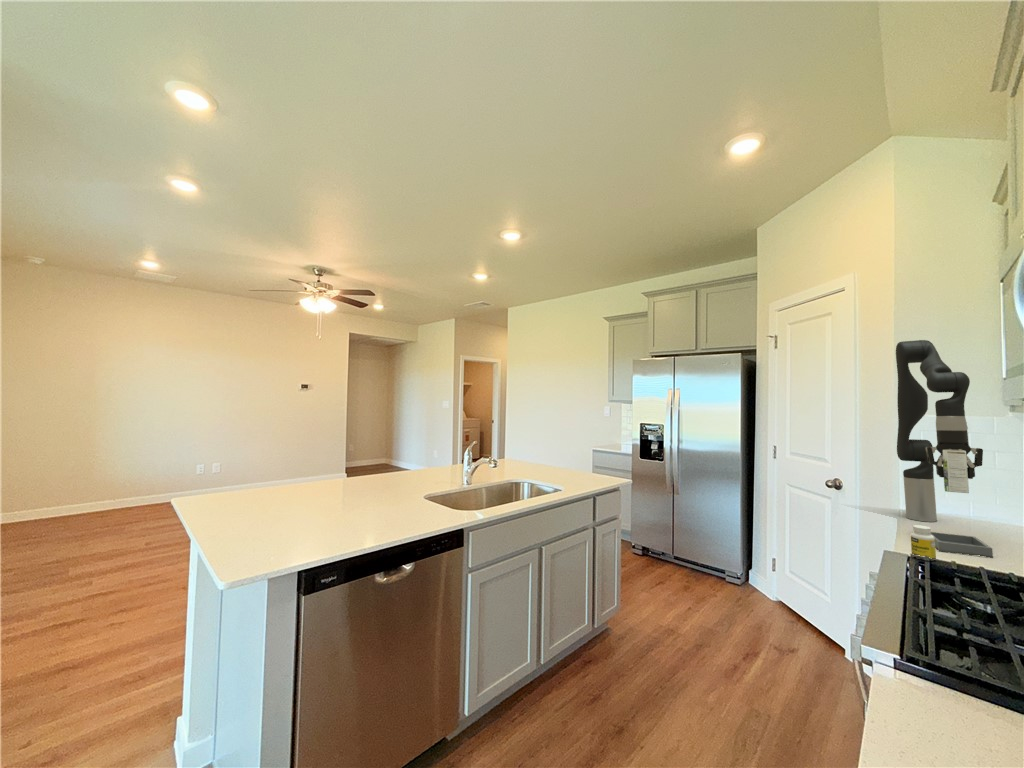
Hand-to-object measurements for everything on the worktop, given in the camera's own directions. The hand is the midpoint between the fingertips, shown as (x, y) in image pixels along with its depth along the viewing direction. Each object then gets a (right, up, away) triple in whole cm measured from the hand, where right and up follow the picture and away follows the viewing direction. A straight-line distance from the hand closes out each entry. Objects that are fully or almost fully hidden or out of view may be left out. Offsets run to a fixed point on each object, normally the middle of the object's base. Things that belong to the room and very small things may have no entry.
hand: (955, 477), depth 145 cm
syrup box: (0, -5, 0) cm, 5 cm away
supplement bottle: (-26, -22, -15) cm, 37 cm away
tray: (-5, -22, -6) cm, 24 cm away
